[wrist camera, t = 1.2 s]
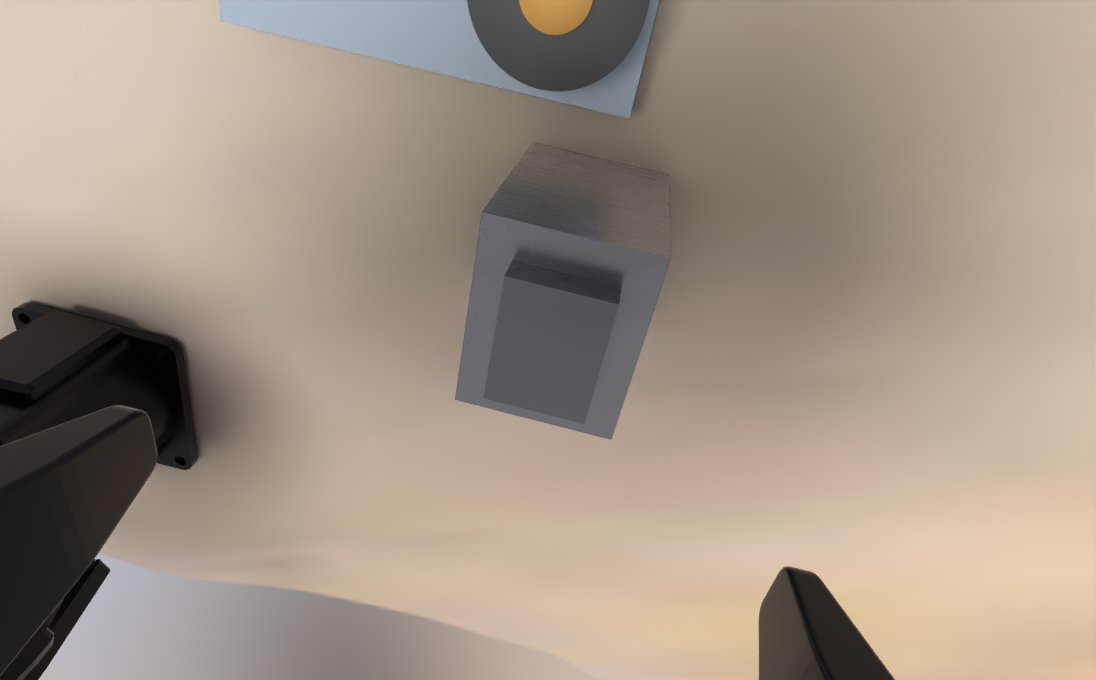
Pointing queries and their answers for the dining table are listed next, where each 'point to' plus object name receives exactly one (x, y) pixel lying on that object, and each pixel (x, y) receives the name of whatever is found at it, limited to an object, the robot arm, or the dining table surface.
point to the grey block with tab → (564, 288)
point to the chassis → (482, 40)
